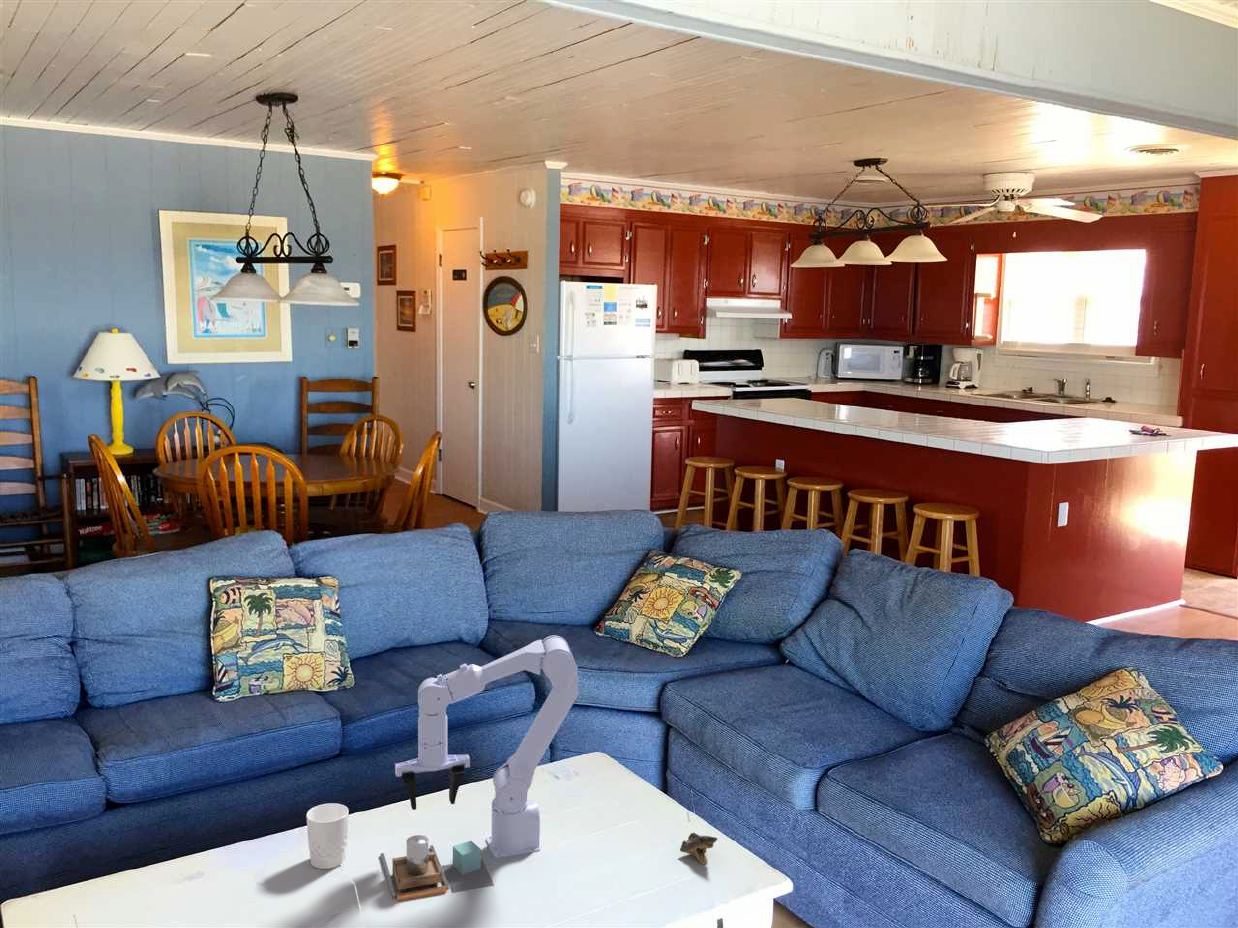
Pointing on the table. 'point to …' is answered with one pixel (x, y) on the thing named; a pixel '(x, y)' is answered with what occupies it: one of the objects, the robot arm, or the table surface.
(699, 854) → the shark head
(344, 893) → the table surface
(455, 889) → the mat
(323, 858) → the white cup
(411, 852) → the part
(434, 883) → the brown wooden tray
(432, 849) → the track
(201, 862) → the table surface
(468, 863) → the part
